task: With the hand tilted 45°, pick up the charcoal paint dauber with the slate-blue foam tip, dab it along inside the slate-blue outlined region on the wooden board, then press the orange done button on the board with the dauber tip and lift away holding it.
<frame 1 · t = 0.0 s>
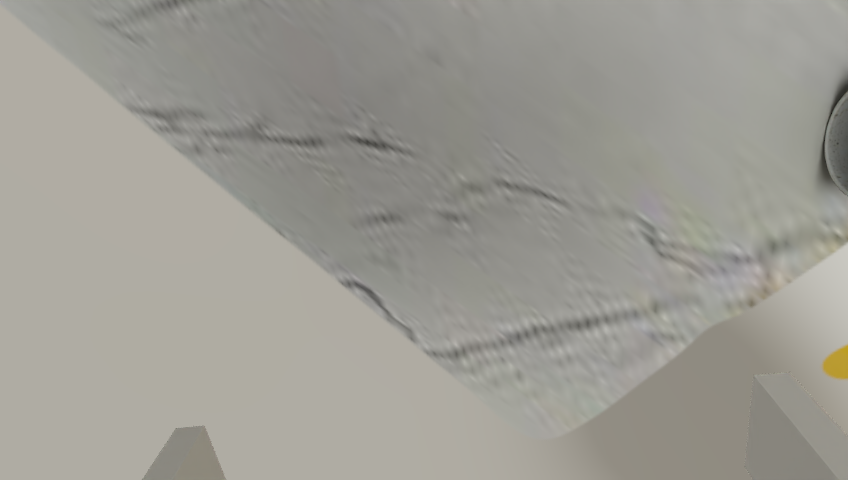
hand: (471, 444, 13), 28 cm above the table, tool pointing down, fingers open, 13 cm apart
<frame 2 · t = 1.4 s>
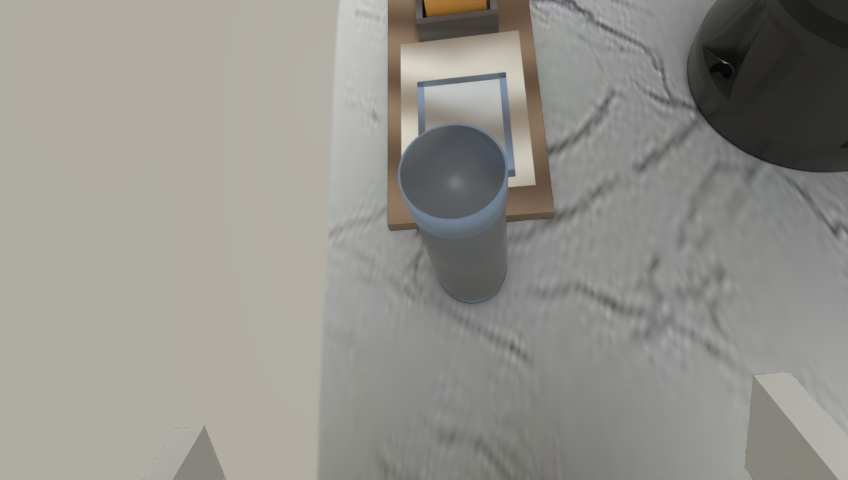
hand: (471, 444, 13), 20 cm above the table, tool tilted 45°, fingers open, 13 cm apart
wooden board: (462, 89, 41), on the table
dauber: (472, 273, 35), on the table
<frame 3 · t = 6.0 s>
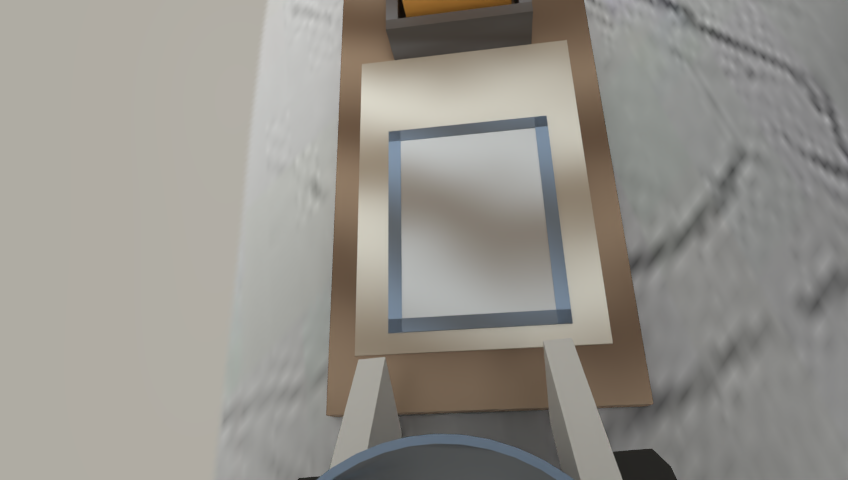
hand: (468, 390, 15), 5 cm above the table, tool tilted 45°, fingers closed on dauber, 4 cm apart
wooden board: (468, 144, 23), on the table
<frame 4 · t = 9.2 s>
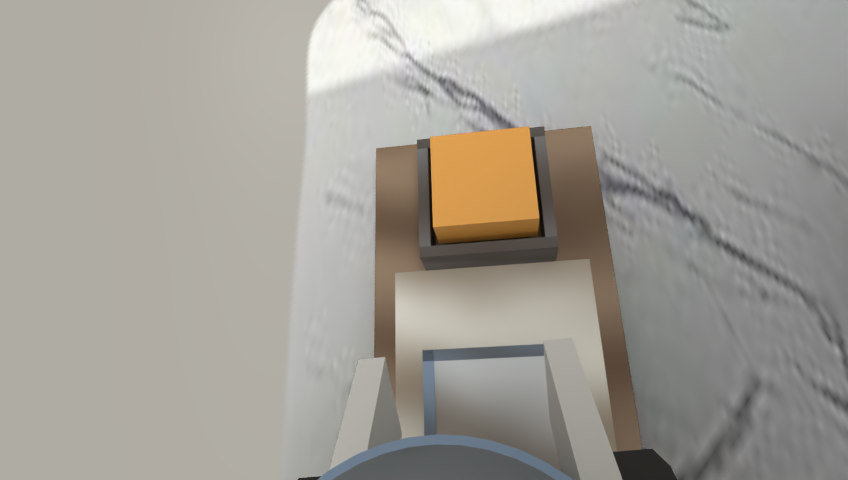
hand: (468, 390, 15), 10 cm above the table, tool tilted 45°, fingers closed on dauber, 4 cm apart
wooden board: (496, 356, 25), on the table
done button: (483, 186, 24), point 3 cm above the table, slide at 0.0 cm
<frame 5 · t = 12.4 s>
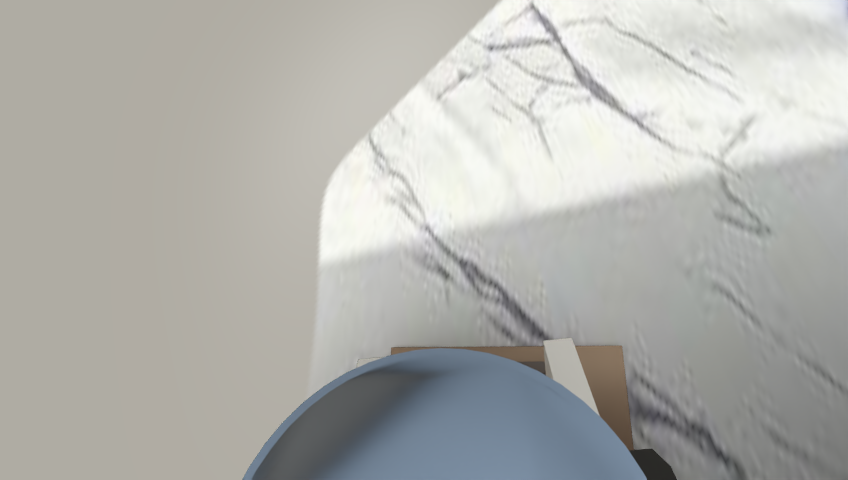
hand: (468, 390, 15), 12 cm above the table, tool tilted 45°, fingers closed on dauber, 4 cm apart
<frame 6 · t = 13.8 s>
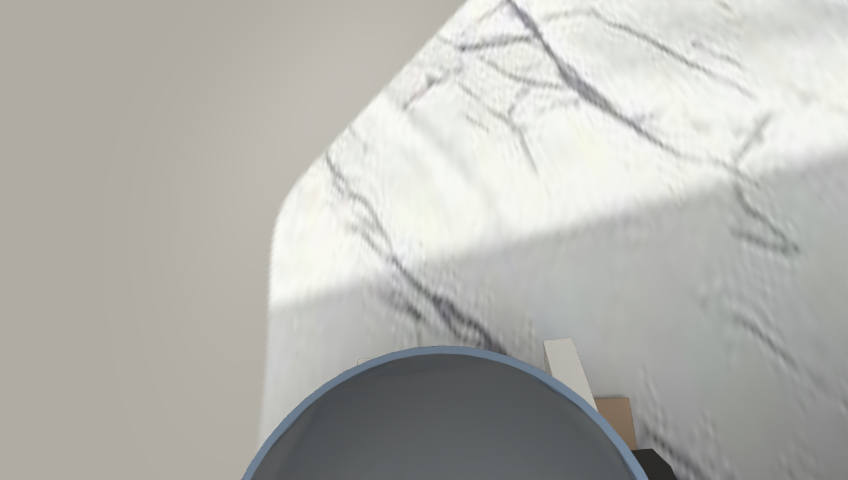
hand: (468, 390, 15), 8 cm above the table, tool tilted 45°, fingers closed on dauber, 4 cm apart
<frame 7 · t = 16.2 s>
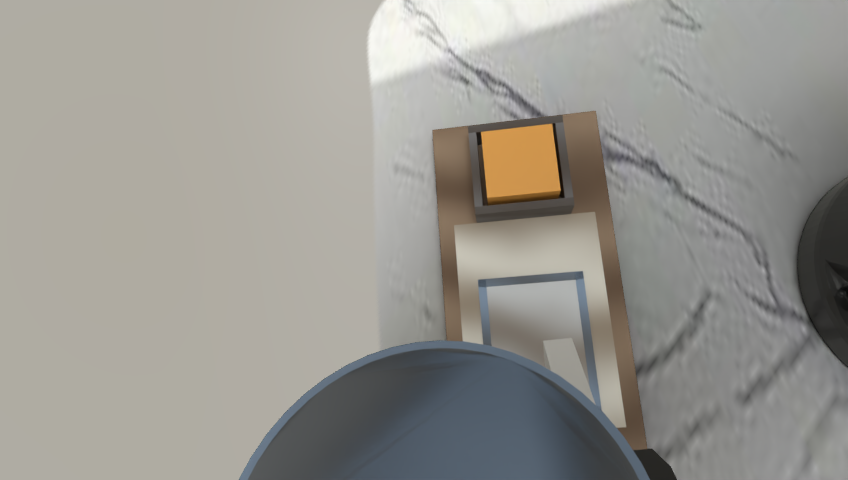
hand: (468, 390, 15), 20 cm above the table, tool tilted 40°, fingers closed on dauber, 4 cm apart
wooden board: (529, 282, 35), on the table
done button: (519, 166, 34), point 3 cm above the table, slide at 0.8 cm
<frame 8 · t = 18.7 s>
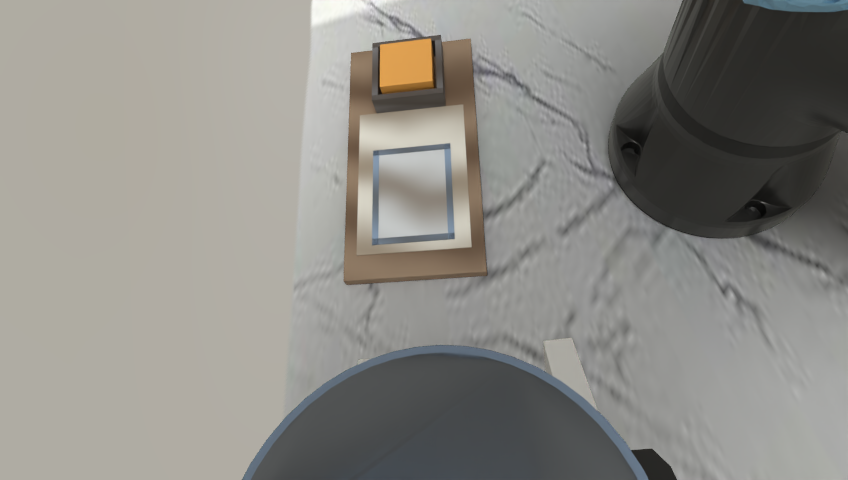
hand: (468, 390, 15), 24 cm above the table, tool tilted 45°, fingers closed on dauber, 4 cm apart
wooden board: (413, 156, 46), on the table
done button: (407, 70, 46), point 3 cm above the table, slide at 0.8 cm
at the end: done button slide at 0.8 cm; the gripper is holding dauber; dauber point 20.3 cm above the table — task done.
